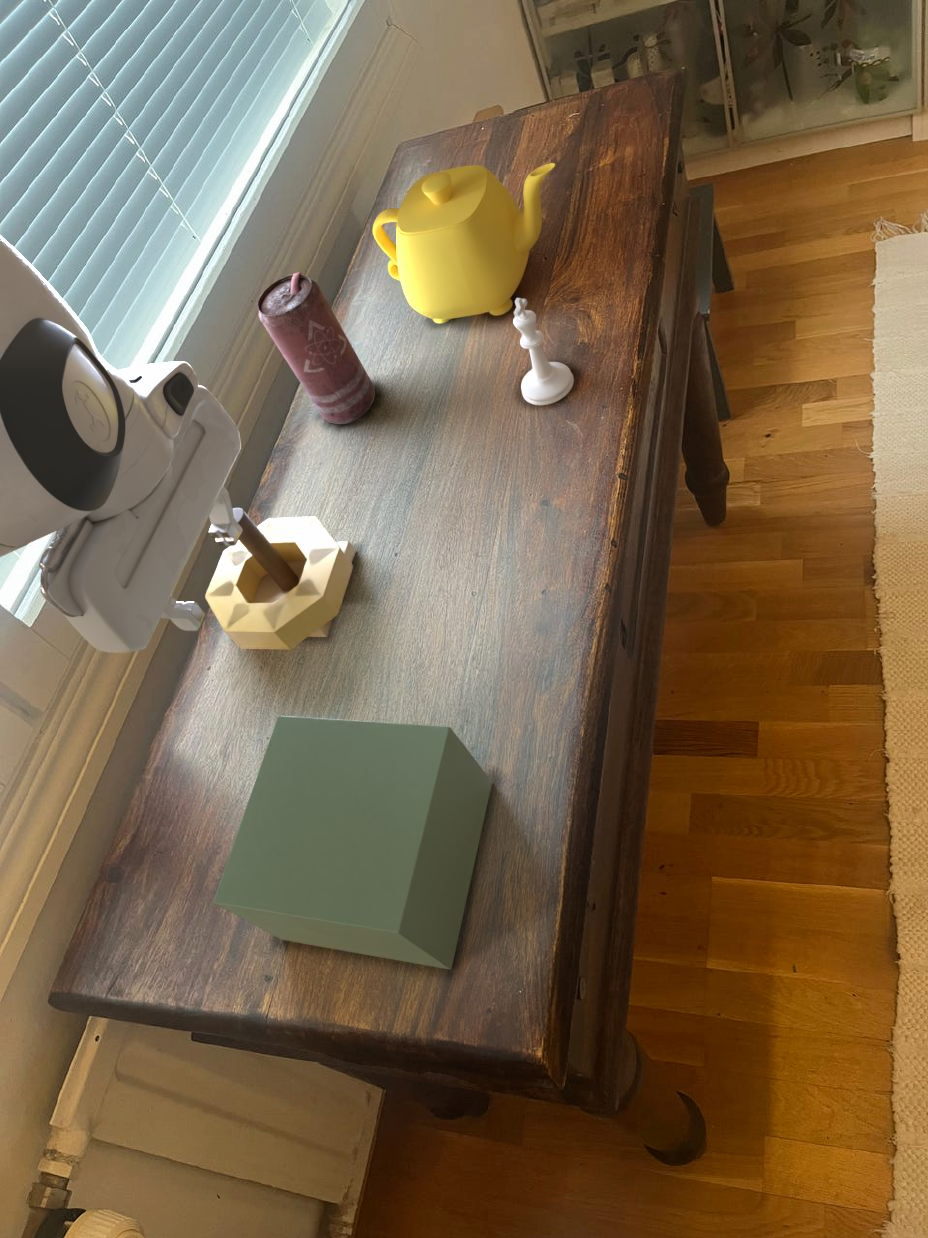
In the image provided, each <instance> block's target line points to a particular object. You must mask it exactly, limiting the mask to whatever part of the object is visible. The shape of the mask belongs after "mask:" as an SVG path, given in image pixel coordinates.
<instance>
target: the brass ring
mask: <svg viewBox="0 0 928 1238" xmlns="http://www.w3.org/2000/svg"><path fill="white" fill-rule="evenodd" d="M256 526H257V528H258V529H259V530H260V531H261V532H262V534H263V535H264V536H265V537H266V539H267V540H268V541H269V542H270V543H271V545H272V546H273V547H274V548H275V549H276V551H277V552H278V553H279V554H280V556H281V557H282V558H283V559H284V560H285V562H287V561H307V562H306V564H305V567H304V570H303V573H302V576H301V578H300V581H299V584H298V585H297V586H296V587H295V588H293V589H292V590H291V591H289V592H288V593H287V594H285V595H284V596H282V597H281V598H280V599H278V600H277V601H276V602H274V603H259V604H252V602H253V599H254V597H255V594H256V591H257V589H258V586H259V584H260V581H261V579H262V578H263V577H264V576H266V575H267V574H268V573H267V572H266V571H265V570H264V569H263V567H262V566H261V565H260V564H259V563H258V562H257V560H256V559H255V558H254V557H253V556H252V555H251V554H250V552H249V551H248V550H247V549H246V548H245V547H244V545H243V544H242V543H241V542H240V541H239V540H238V542H237V544H236V545H235V546H231V545H229V546H227V548H225V549H224V550H223V551H222V554H221V556H220V559H219V561H218V564H217V566H216V569H215V571H214V574H213V575H212V578H211V581H210V583H209V585H208V588H207V589H206V593H205V595H204V598H205V600H206V602H207V604H208V606H209V607H210V609H211V611H212V613H213V614H214V616H215V618H216V620H217V621H218V624H219V625H220V627H221V628H222V630H223V632H224V633H225V634H226V635H227V637H229V638H230V639H231V640H232V641H233V642H234V643H235V644H236V645H237V646H238V647H239V648H240V649H242V650H243V649H247V650H286V651H287V650H292V649H293V648H295V647H296V646H297V645H299V644H300V643H301V642H303V641H304V640H305V639H307V638H309V637H308V636H309V635H311V634H312V633H313V632H315V631H316V630H318V629H319V628H320V627H322V626H323V625H324V624H326V623H327V622H328V621H330V620H331V619H332V618H333V619H334V618H335V617H337V616H338V615H339V612H340V610H341V606H342V603H343V600H344V597H345V594H346V591H347V588H348V584H349V582H350V578H351V575H352V572H353V570H354V565H353V564H352V563H353V562H352V563H351V562H350V561H349V559H348V558H347V557H346V555H345V554H344V552H343V551H342V550H341V548H340V547H339V546H338V544H337V543H336V542H335V541H336V540H335V539H334V537H333V536H332V535H331V534H330V533H329V532H328V530H327V528H326V527H325V526H324V525H323V523H322V522H321V520H320V519H319V518H318V516H315V515H312V516H309V515H308V516H287V517H269V518H267V519H265V520H264V521H262V522H261V523H260V524H259V525H256Z"/></svg>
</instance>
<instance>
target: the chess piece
mask: <svg viewBox="0 0 928 1238" xmlns="http://www.w3.org/2000/svg"><path fill="white" fill-rule="evenodd" d="M514 304H515V309H514V310H513V316H514V317H513V319H512V320H513V321H512V323H513V325H514V327H515V328H516V329H517V330H518V331H519V332H520V334H521V337H520V339H519V344H520V346H521V348H523V349H524V350H528V351H529V356H530V361H531V366H532V368H530V370H529V371H528V372H527V373H525V375H524V377H523V378H522V380H521V383H520V387H521V388H520V389H521V394H522V395H521V396H522V397H523V399H524V400H525V401H526V402H527V403H529V404H531V405H535V406H546V405H551V404H554V403H556V402H559V401H560V400H562V399H563V398H564V397H566V396H567V395H568V394H569V393H570V391H571V390H572V388H573V386H574V381H575V379H574V374H573V373H572V371H571V369H570V368H569V367H568V366H567V365H566V364H565V363H562V362H560V361H549V360H548V358H547V356H546V355H545V353H544V351H543V348H542V347H541V345H542V344H543V341H544V340H545V339H544V338H545V337H544V334H543V333H542V331H540V330H537V327H536V326H537V325H536V324H537V315H536V313H535V312H534V311H533V310H530V309H525V308H526V307H527V305H528V299H527V298H521V297H516V298H515V300H514Z"/></svg>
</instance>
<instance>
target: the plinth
mask: <svg viewBox="0 0 928 1238" xmlns="http://www.w3.org/2000/svg"><path fill="white" fill-rule="evenodd" d="M492 786H493V781H492V779H491V778H490V777H489V776H488V774H487V773H486V772H485V770H484V769H483V767H481V765H480V764H479V762H478V761H477V760H476V759H475V757H474V756H473V755H472V753H471V752H470V751H469V749H468V748H467V747H466V746H465V744H464V743H463V742H462V740H461V739H460V738H459V737H458V735H457V734H456V732H455V731H454V730H453V728H452V727H451V726H446V725H444V726H443V725H430V724H428V725H427V724H413V723H401V722H400V723H398V722H384V721H383V722H382V721H365V720H354V719H353V720H352V719H335V718H323V717H322V718H320V717H307V716H306V717H305V716H293V715H291V716H289V715H278V716H277V718H276V721H275V724H274V727H273V729H272V731H271V735H270V738H269V741H268V744H267V747H266V749H265V752H264V755H263V757H262V761H261V764H260V767H259V770H258V773H257V776H256V778H255V781H254V784H253V787H252V790H251V793H250V795H249V798H248V801H247V804H246V807H245V810H244V812H243V816H242V818H241V821H240V824H239V827H238V830H237V832H236V835H235V839H234V841H233V844H232V847H231V850H230V853H229V855H228V858H227V861H226V864H225V867H224V870H223V873H222V875H221V878H220V881H219V884H218V887H217V890H216V893H215V896H214V899H213V901H212V903H213V904H214V905H216V906H218V907H219V908H222V909H224V910H226V911H228V912H230V913H231V914H232V915H235V916H236V917H239V918H241V919H243V920H244V921H246V922H248V923H250V924H251V925H254V926H255V927H257V928H259V929H261V930H262V931H265V932H266V933H269V934H270V935H271V936H274V937H276V938H278V939H279V940H282V941H286V942H293V943H297V944H304V945H310V946H316V947H320V948H325V949H331V950H338V951H342V952H343V951H344V952H348V953H354V954H360V955H365V956H372V957H377V958H383V959H389V960H394V961H400V962H405V963H411V964H417V965H421V966H427V967H434V968H438V969H445V970H452V969H453V964H454V961H455V960H454V959H455V955H456V951H457V946H458V941H459V937H460V931H461V928H462V922H463V919H464V914H465V909H466V905H467V900H468V896H469V891H470V887H471V881H472V876H473V872H474V868H475V863H476V858H477V854H478V850H479V849H478V848H479V845H480V841H481V836H482V831H483V827H484V822H485V818H486V812H487V808H488V803H489V798H490V794H491V789H492Z"/></svg>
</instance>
